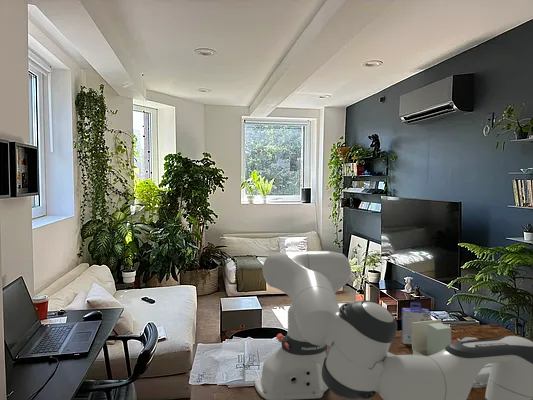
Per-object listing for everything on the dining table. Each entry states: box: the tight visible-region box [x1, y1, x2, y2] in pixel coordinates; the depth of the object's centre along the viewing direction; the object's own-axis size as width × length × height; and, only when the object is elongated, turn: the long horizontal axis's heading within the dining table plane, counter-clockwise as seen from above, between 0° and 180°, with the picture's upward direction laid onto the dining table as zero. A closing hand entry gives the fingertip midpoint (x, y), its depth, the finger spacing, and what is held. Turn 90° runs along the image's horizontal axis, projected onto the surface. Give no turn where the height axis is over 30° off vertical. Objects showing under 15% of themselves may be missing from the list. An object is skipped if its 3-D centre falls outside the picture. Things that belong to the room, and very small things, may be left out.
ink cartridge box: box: [401, 301, 432, 345], centre depth 143 cm, size 10×6×14 cm, turn 77°
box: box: [427, 322, 452, 356], centre depth 124 cm, size 5×5×13 cm
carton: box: [411, 319, 442, 356], centre depth 123 cm, size 11×16×12 cm
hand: (467, 358), depth 113 cm, fingers open, 8 cm apart
